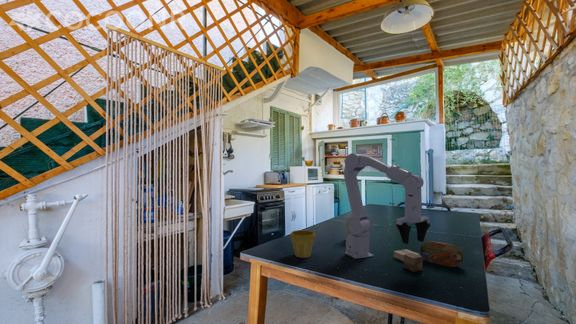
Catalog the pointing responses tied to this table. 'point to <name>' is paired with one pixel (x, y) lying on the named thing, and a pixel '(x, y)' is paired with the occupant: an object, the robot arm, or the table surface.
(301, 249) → the plant pot
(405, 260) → the walnut block
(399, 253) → the oak block
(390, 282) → the table surface
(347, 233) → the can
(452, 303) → the table surface
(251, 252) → the table surface
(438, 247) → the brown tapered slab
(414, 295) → the table surface
